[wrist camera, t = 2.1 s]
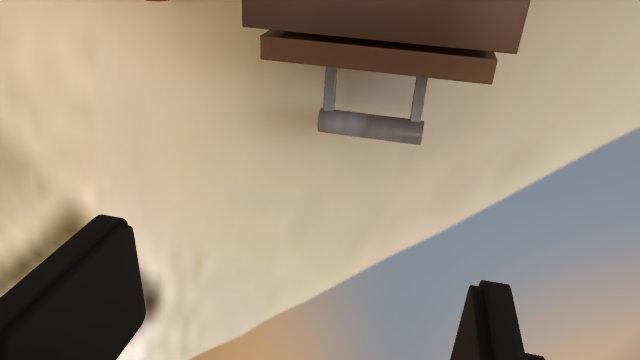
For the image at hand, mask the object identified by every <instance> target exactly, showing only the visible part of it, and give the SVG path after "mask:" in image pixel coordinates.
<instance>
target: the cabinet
mask: <svg viewBox="0 0 640 360" xmlns="http://www.w3.org/2000/svg"><path fill="white" fill-rule="evenodd" d="M529 4H530V0H242V24H243V27H249V28H259V29H269V30H279V31H289V32H299V33H310V34H320V35H330V36H340V37H350V38H360V39H370V40H380V41H390V42H400V43H410V44H421V45H431V46H441V47H451V48H461V49H471V50H481V51H491V52H501V53H511V54H517V52H518V48H519V44H520V40H521V36H522V32H523V28H524V24H525V20H526V16H527V12H528V8H529Z"/></svg>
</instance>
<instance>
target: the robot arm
mask: <svg viewBox="0 0 640 360" xmlns="http://www.w3.org/2000/svg"><path fill="white" fill-rule="evenodd" d="M145 314H146V308H145V302H144V296H143V289H142V283H141V277H140V270H139V264H138V258H137V251H136V245H135V238H134V232H133V228H132V227H131V226H129V225H128V224H127V221H126V220H125V219H123V218H119V217H113V216H107V215H98V216H96V217H95V218H94V219H92V220H91V221H90V222H89V223H88V224H87V225H85V226H84V227H83V228H82V229H81V230H79V231H78V232H77V233H76V234H75V235H74V236H72V237H71V238H70V239H69V240H68V241H67V242H65V243H64V244H63V245H62V246H61V247H59V248H58V249H57V250H56V251H55V252H54V253H52V254H51V255H50V256H49V257H48V258H47V259H45V260H44V261H43V262H42V263H41V264H39V265H38V266H37V267H36V268H35V269H34V270H32V271H31V272H30V273H29V274H28V275H27V276H25V277H24V278H23V279H22V280H21V281H20V282H18V283H17V284H16V285H15V286H14V287H12V288H11V289H10V290H9V291H8V292H7V293H5V294H4V295H3V296H2V297H1V298H0V360H116V359H117V358H118V357H119V355H120V354H121V352H122V351H123V350H124V348H125V347H126V346H127V344H128V343H129V342H130V340H131V339H132V338H133V336H134V335H135V333H136V332H137V331H138V329H139V328H140V327H141V325H142V323H143V321H144V318H145ZM450 360H545V359H544V357H543V356H537V355H532V354H528V353H525V352H524V348H523V343H522V338H521V334H520V329H519V324H518V320H517V315H516V311H515V306H514V301H513V296H512V292H511V288H510V286H509V285H507V284H502V283H496V282H490V281H485V280H482V281H481V282H480V283H479V286H473V285H471V286H470V287H469V290H468V293H467V297H466V302H465V305H464V309H463V313H462V317H461V320H460V324H459V328H458V332H457V336H456V339H455V343H454V348H453V351H452V355H451V359H450Z"/></svg>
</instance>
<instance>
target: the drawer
mask: <svg viewBox="0 0 640 360" xmlns="http://www.w3.org/2000/svg"><path fill="white" fill-rule="evenodd" d="M260 39H261V59H263V60H272V61H281V62H290V63H299V64H308V65H318V66H326V70H325V87H324V104H323V108H321V110H320V112H319V116H318V131H319V132H324V133H332V134H339V135H347V136H354V137H362V138H370V139H377V140H385V141H392V142H400V143H408V144H415V145H420V144H421V140H422V134H423V127H424V121H421V116H422V110H423V104H424V98H425V92H426V86H427V80H428V78H436V79H445V80H454V81H463V82H473V83H482V84H492V82H493V78H494V73H495V69H496V65H497V58H496V56H495V54H494V52H491V51H481V50H471V49H461V48H451V47H441V46H431V45H421V44H410V43H400V42H390V41H380V40H370V39H360V38H350V37H340V36H330V35H320V34H310V33H299V32H289V31H279V30H269V31H267V32H266V33H264V34H262V35H261V36H260ZM338 68H345V69H354V70H363V71H372V72H381V73H390V74H400V75H409V76H416V83H415V90H414V96H413V103H412V109H411V116H410V119H405V118H397V117H389V116H381V115H373V114H365V113H357V112H349V111H341V110H334V108H335V97H336V83H337V69H338Z"/></svg>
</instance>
